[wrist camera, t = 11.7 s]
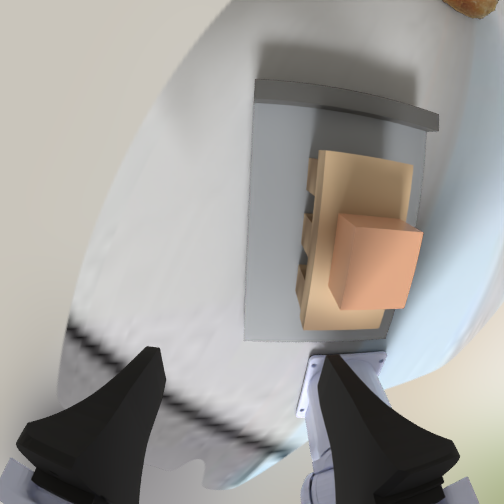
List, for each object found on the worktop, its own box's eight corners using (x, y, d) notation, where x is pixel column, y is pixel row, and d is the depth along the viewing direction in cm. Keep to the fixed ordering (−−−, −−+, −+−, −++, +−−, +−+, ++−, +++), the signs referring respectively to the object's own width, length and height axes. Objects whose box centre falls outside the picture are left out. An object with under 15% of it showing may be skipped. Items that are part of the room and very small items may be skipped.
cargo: (385, 286, 15) (404, 308, 12) (327, 285, 15) (340, 310, 12) (399, 218, 13) (423, 232, 11) (338, 213, 13) (355, 226, 11)
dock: (377, 325, 23) (391, 349, 20) (244, 326, 23) (243, 353, 20) (413, 117, 17) (438, 114, 13) (254, 91, 16) (255, 79, 13)
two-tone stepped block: (359, 297, 20) (379, 328, 16) (294, 296, 20) (303, 330, 16) (382, 160, 16) (413, 165, 12) (309, 149, 16) (325, 150, 12)
